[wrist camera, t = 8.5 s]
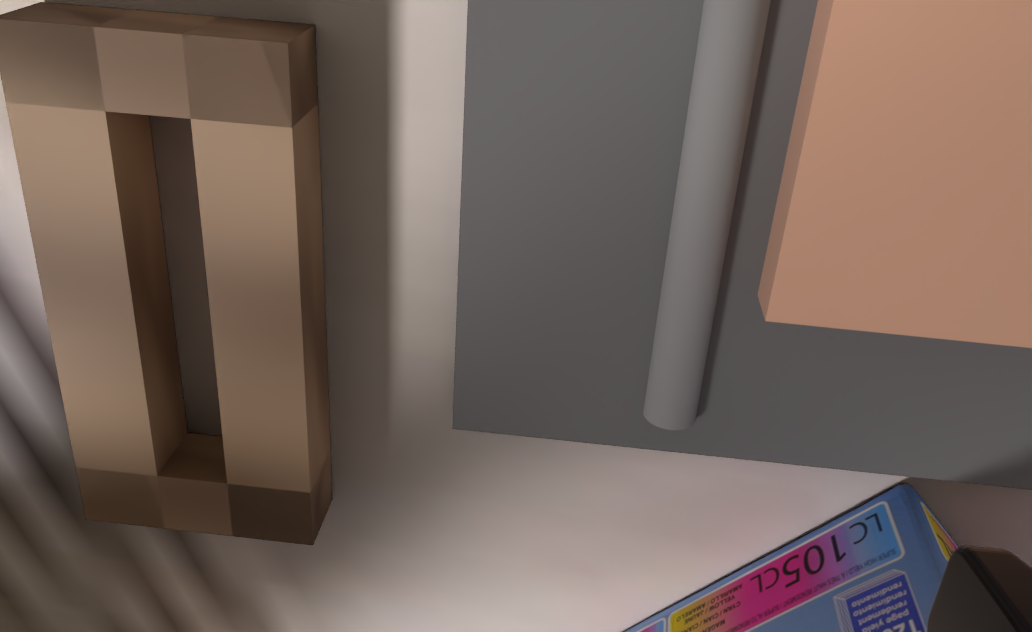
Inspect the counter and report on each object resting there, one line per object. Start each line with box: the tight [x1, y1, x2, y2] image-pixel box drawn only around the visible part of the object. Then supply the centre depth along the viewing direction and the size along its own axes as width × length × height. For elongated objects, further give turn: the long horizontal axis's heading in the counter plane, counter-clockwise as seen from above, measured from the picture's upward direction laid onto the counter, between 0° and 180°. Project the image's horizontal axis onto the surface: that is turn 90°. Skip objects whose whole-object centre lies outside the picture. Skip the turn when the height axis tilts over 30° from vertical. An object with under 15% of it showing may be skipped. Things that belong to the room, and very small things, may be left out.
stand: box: [0, 2, 332, 545], centre depth 21 cm, size 12×6×2 cm, turn 177°
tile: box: [758, 0, 1032, 348], centre depth 18 cm, size 8×1×7 cm
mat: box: [453, 0, 1032, 490], centre depth 19 cm, size 16×14×1 cm
